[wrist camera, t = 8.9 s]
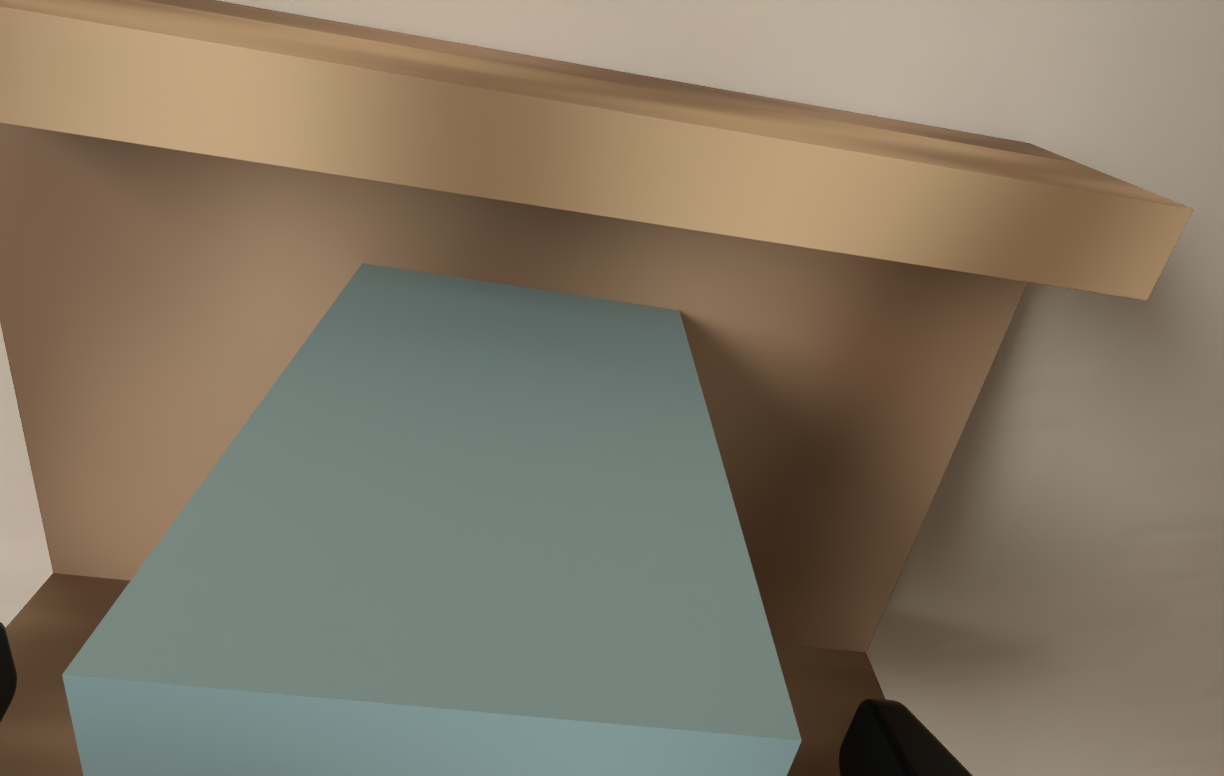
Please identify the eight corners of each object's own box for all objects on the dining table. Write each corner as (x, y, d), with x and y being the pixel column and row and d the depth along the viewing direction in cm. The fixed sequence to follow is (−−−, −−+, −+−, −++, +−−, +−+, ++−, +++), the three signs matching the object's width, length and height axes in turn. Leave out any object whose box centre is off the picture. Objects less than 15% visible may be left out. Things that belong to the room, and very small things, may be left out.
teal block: (679, 310, 13) (801, 741, 6) (623, 551, 15) (661, 1070, 8) (362, 262, 12) (62, 673, 5) (355, 520, 14) (141, 1049, 7)
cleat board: (1029, 143, 13) (1425, 301, 7) (829, 639, 18) (954, 980, 12) (0, -38, 11) (-682, -39, 5) (104, 568, 17) (-176, 923, 10)
